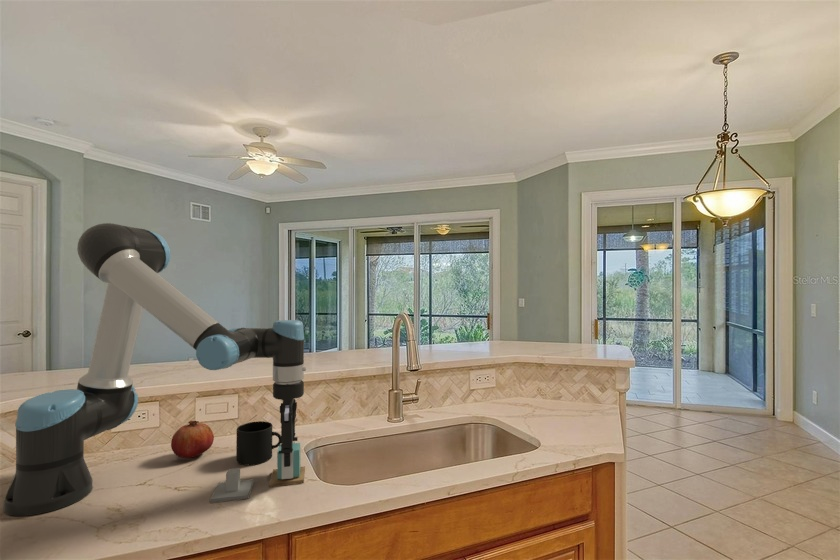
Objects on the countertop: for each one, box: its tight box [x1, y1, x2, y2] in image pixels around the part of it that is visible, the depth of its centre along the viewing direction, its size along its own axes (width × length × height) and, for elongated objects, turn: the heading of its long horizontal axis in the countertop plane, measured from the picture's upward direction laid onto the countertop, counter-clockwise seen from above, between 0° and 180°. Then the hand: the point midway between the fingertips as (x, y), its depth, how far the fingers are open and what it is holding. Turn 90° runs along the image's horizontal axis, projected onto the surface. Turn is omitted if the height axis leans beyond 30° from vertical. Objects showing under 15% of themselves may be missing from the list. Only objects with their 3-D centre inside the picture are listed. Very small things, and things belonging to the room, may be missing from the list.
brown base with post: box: [268, 466, 306, 488], centre depth 107 cm, size 8×8×7 cm
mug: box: [235, 420, 281, 466], centre depth 119 cm, size 9×12×9 cm
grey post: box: [209, 467, 255, 504], centre depth 99 cm, size 8×8×5 cm
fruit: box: [170, 420, 215, 459], centre depth 120 cm, size 11×10×10 cm
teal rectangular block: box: [276, 442, 302, 479], centre depth 107 cm, size 5×5×7 cm
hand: (288, 472), depth 107 cm, fingers closed on teal rectangular block, 5 cm apart
